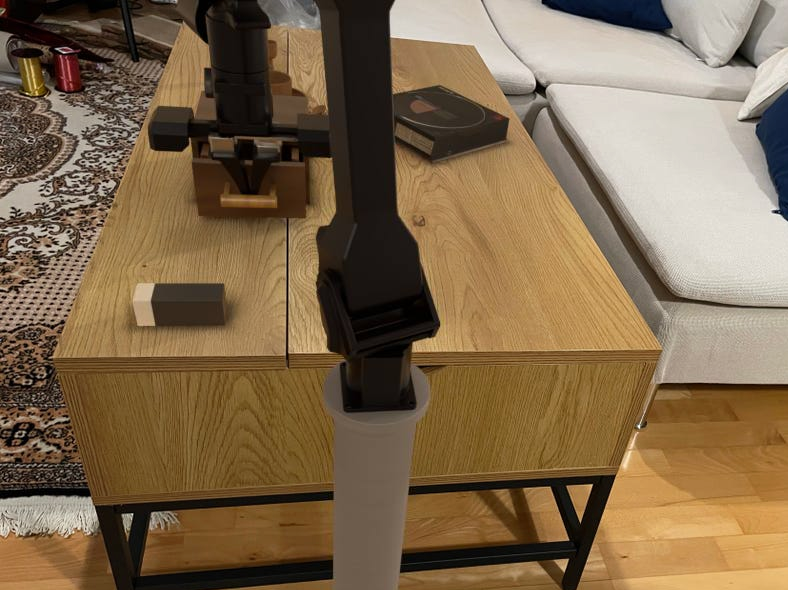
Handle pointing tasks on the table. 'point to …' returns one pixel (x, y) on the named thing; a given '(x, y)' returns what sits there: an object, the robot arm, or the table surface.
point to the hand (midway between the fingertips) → (251, 203)
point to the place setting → (285, 80)
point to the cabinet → (283, 114)
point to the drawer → (275, 196)
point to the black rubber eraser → (180, 304)
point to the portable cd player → (445, 123)
